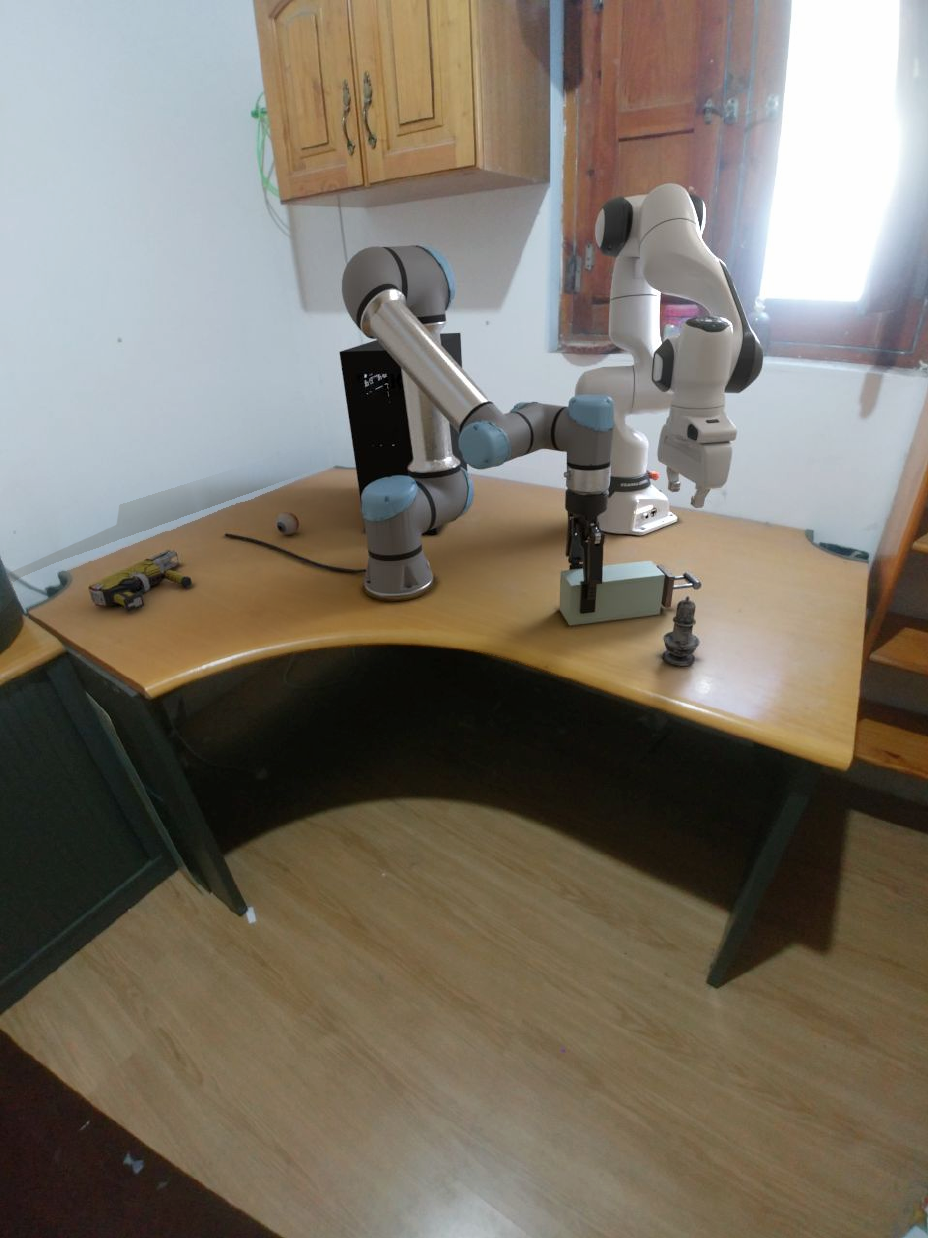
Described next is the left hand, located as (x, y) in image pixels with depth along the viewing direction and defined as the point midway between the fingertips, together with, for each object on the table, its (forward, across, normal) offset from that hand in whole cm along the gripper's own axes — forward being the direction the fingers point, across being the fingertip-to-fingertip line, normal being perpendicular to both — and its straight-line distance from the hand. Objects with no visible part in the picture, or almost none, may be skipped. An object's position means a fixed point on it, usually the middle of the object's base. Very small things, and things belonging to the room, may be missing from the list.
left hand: (581, 602), depth 118 cm
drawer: (+2, 0, +12) cm, 12 cm away
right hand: (-19, -1, +19) cm, 27 cm away
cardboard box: (+3, -71, -25) cm, 75 cm away
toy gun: (+3, -35, -90) cm, 96 cm away
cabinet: (+3, 0, +6) cm, 6 cm away
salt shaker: (+3, +18, +12) cm, 22 cm away
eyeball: (+3, -61, -62) cm, 88 cm away
